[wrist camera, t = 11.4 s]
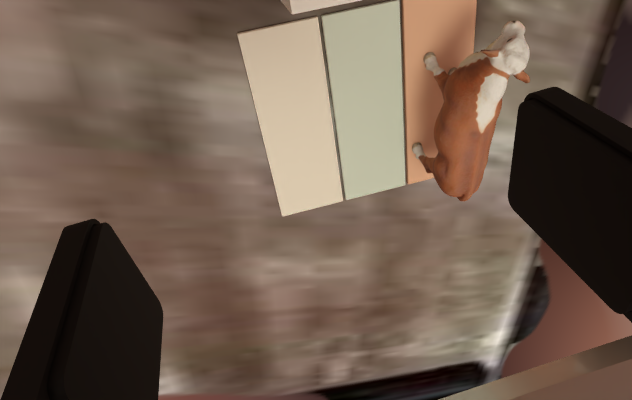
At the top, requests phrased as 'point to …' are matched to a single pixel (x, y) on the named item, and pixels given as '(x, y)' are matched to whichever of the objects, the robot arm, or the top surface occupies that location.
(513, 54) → the bull figurine
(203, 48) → the top surface
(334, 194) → the game board
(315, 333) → the top surface
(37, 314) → the robot arm
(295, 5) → the die
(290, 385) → the top surface
